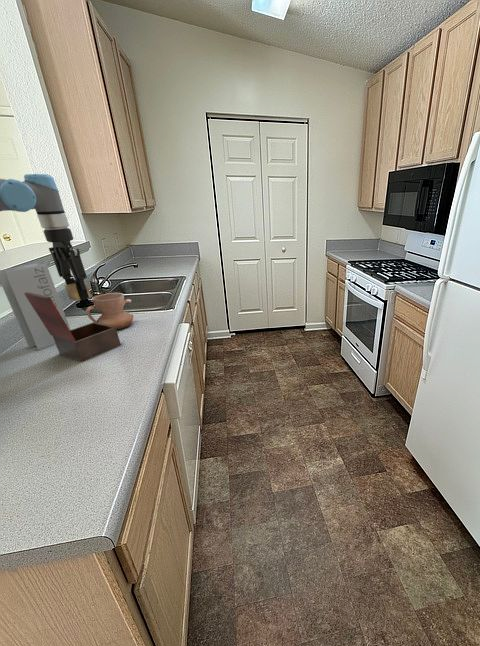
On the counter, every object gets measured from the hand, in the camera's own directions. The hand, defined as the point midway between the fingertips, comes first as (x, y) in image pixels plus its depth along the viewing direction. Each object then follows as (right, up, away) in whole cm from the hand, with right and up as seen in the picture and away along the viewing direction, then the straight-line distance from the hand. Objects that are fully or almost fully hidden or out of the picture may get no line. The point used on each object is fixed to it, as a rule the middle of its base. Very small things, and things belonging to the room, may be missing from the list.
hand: (80, 297), depth 119 cm
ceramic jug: (-4, -8, +29) cm, 31 cm away
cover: (-5, -8, -7) cm, 11 cm away
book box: (-1, -19, +8) cm, 20 cm away
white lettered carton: (-21, -16, +15) cm, 30 cm away
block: (0, 0, 0) cm, 0 cm away
